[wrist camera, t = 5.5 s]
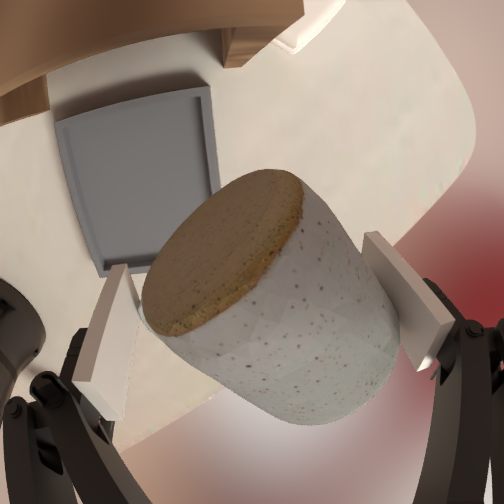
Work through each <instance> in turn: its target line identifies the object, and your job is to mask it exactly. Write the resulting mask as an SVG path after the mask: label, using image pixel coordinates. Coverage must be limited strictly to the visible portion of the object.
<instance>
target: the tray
mask: <svg viewBox="0 0 504 504" xmlns="http://www.w3.org/2000/svg"><path fill="white" fill-rule="evenodd" d="M54 125H55V130H56V135H57V140H58V145H59V150H60V154H61V159H62V163H63V167H64V171H65V175H66V179H67V183H68V186H69V190H70V193H71V197H72V200H73V204H74V207H75V210H76V214H77V217H78V220H79V223H80V226H81V229H82V232H83V235H84V238H85V240H86V243H87V246H88V249H89V251H90V254H91V257H92V259H93V262H94V265H95V267H96V270H97V272H98V275H99V277H100V278H102V277H108V275H109V272H110V270H111V267H112V265H119V264H126V263H127V266H128V269H129V272H130V274H139V273H148V271H149V269H150V267H151V265H152V263H153V262H154V260H155V258H156V257H157V255H158V253H159V252H160V250H161V249H162V247H163V246H164V245H165V243H166V242H167V241H168V239H169V238H170V237H171V236H172V234H173V233H174V232H175V231H176V229H177V228H178V227H179V226H180V225H181V224H182V223H183V222H184V221H185V220H186V219H187V218H188V217H189V216H190V215H191V214H192V213H193V212H194V211H195V210H196V209H197V208H198V207H199V206H200V205H201V204H202V203H204V202H205V201H206V200H207V199H208V198H210V197H211V196H212V195H213V194H215V193H216V192H217V191H219V190H220V189H221V184H220V175H219V166H218V158H217V148H216V139H215V130H214V120H213V110H212V100H211V90H210V86H205V87H197V88H190V89H184V90H177V91H171V92H166V93H161V94H155V95H150V96H146V97H141V98H137V99H132V100H128V101H124V102H120V103H116V104H112V105H108V106H105V107H101V108H98V109H94V110H91V111H88V112H84V113H81V114H78V115H75V116H72V117H69V118H66V119H63V120H60V121H58V122H55V123H54Z"/></svg>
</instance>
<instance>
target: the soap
mask: <svg viewBox="0 0 504 504" xmlns="http://www.w3.org/2000/svg"><path fill="white" fill-rule="evenodd" d="M345 2H346V0H303V3H304V13H305V15H304V16H303V17H302V18H300V19H299V20H298V21H296V22H295V23H294V24H292V25H291V26H290V27H288V28H287V29H286V30H285V31H283V32H282V33H281V34H279V35H278V36H277V37H276V38H275V39H273V40H272V41H271V42H270V43H272V44H273V45H275V46H276V47H278V48H280V49H281V50H283V51H285V52H287V53H289V54H295V53H297V52H298V51H299V50H301V49H302V48H303V47H304V46H305V45H306V44H307V43H309V42H310V41H311V40H312V39H313V38H314V37H315V36H316V35H317V34H318V33H319V32H320V31H321V30H322V29H323V28H324V27H325V26H326V25H327V24H328V23H329V22H330V20H331V19H332V18H333V17H334V16H335V15H336V13H337V12H338V11H339V10H340V8H341V7H342V6H343V4H344V3H345Z"/></svg>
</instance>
